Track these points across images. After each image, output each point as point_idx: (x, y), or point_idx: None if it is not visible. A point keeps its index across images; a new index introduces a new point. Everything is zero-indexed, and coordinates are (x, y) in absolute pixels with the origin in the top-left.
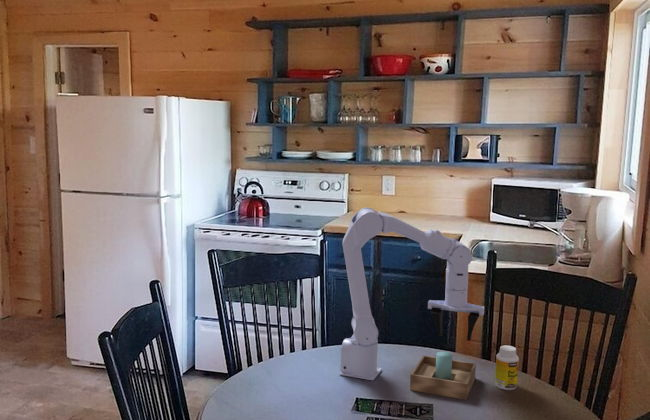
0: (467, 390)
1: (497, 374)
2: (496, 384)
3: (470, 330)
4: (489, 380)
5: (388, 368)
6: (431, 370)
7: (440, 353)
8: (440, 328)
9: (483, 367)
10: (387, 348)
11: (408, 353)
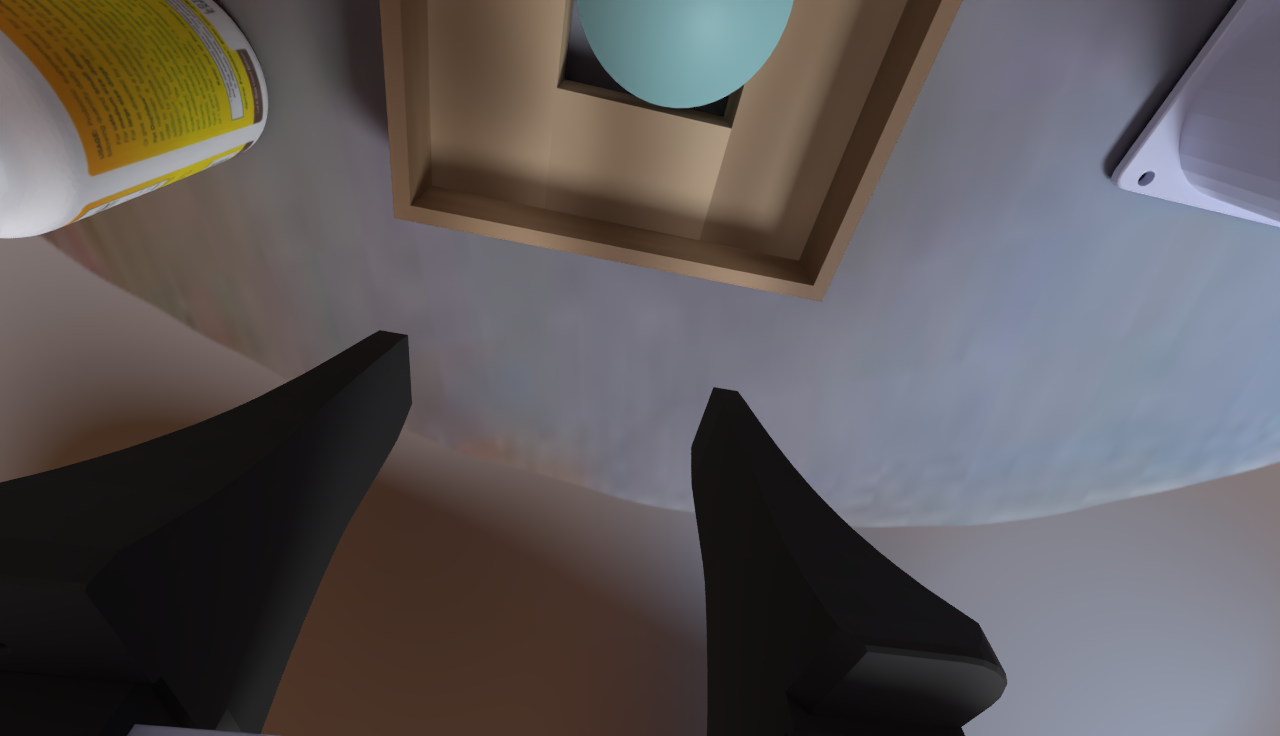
0: None
1: (152, 20)
2: (226, 21)
3: (285, 394)
4: (332, 159)
5: (1036, 224)
6: (763, 126)
7: (734, 18)
8: (732, 456)
9: (416, 355)
10: (942, 486)
11: (839, 451)
